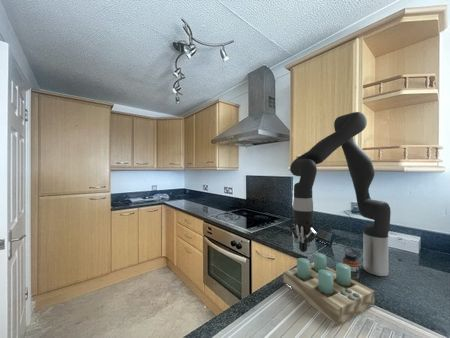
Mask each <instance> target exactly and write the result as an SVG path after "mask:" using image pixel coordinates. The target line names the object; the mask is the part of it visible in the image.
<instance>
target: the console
mask: <svg viewBox="0 0 450 338" xmlns="http://www.w3.org/2000/svg"><path fill="white" fill-rule="evenodd" d="M327 270H328V271H331V272H332V273H333V293H331V294H326V293H323V292H321V291H320V290H319V289H318V271H316V270H315V269H314V261H313V262H310V278H308V279H303V278H300V277H298V275H297V267H295V268H291V269H288V270H285V271H283V284H284V283H286V284H288V285H289V286H291V288H292V290H293V291H292V290H291V291H292V292H294V293H295V294H296V295H297V296H299V297H300V298H302V299H303V300H304V301H306V302H307V303H308V304H309V305H311V306H312V307H313V308H315V309H316V310H317V311H318V312H320V313H321V314H322V315H324V316H325V317H326V318H327V319H329V320H330V321H332V322H333V323H334V324H335V325H337V326H340V325H342V324H344V323H346V322H347V321H349V320H351V319H352V318H354V317H356V316H358V315H359V314H361V313H362V312H365V311H366V310H368V309H369V308H368V307H369V306H370V305H373V304H374V305H375V290H373V289H372V288H370V287H367V286H366V285H364V284H362V283H360V282H356V281H354V280H352V279H351V285H349V286H345V285H341V284H339V283H338V282H337V281H336V270H335V269H333V268H330V267H328V266H327ZM374 305H373V306H374ZM367 308H368V309H367Z"/></svg>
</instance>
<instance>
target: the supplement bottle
mask: <svg viewBox="0 0 450 338" xmlns="http://www.w3.org/2000/svg"><path fill="white" fill-rule="evenodd" d="M342 263H343V264H346V265H349V266H350V267H351V279H352V280H354V281H356V282H358V283H360V261H359V260H358V259H357V254H355V253H354V252H352V251H351V252H350V251H346V252H345V255H344V257H342Z"/></svg>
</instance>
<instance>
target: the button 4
mask: <svg viewBox="0 0 450 338" xmlns="http://www.w3.org/2000/svg"><path fill="white" fill-rule="evenodd" d="M335 271H336V281H337V282H338V283H339V284H341V285H345V286H349V285H351V267H350V266H349V265H346V264H343V262H337V263H335Z"/></svg>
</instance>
